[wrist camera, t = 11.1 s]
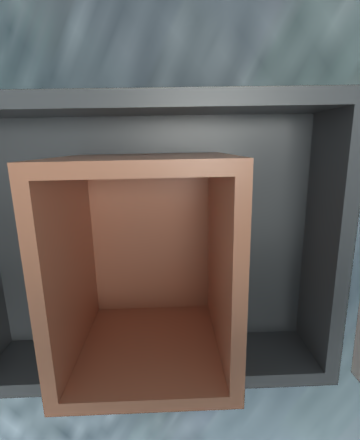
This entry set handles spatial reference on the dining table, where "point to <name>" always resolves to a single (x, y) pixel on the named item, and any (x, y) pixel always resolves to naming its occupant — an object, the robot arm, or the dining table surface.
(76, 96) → the grey tray
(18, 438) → the dining table surface
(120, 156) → the small crate
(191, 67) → the dining table surface
